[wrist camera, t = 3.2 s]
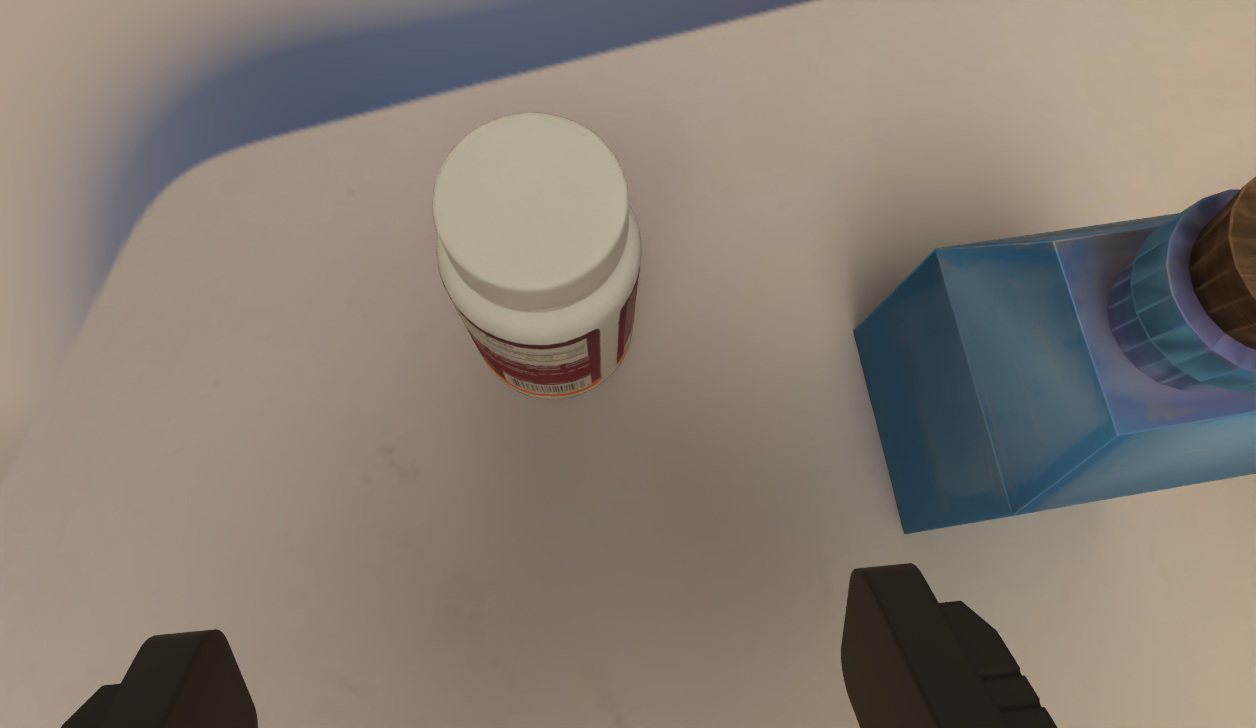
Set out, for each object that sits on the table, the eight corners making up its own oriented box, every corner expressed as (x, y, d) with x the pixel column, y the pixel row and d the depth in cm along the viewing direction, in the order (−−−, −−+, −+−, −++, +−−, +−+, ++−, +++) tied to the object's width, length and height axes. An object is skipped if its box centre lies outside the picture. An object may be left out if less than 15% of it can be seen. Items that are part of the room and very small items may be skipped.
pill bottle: (552, 223, 25) (529, 52, 17) (664, 323, 24) (696, 193, 16) (441, 328, 24) (361, 198, 16) (554, 435, 23) (531, 356, 15)
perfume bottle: (905, 534, 23) (1214, 481, 11) (853, 330, 25) (1079, 103, 13) (1107, 498, 23) (1602, 413, 12) (1044, 301, 25) (1426, 57, 14)
